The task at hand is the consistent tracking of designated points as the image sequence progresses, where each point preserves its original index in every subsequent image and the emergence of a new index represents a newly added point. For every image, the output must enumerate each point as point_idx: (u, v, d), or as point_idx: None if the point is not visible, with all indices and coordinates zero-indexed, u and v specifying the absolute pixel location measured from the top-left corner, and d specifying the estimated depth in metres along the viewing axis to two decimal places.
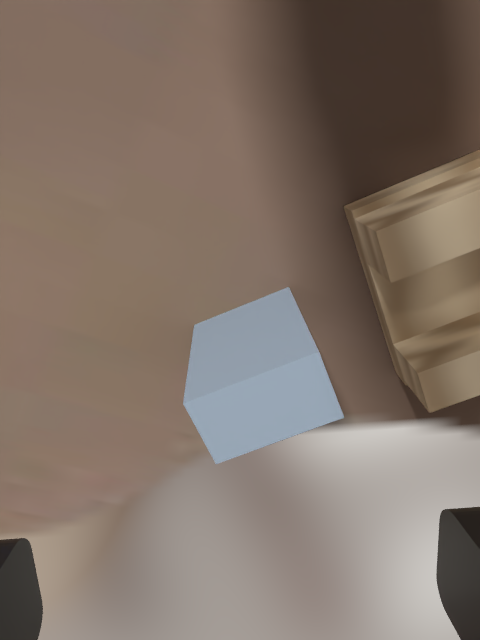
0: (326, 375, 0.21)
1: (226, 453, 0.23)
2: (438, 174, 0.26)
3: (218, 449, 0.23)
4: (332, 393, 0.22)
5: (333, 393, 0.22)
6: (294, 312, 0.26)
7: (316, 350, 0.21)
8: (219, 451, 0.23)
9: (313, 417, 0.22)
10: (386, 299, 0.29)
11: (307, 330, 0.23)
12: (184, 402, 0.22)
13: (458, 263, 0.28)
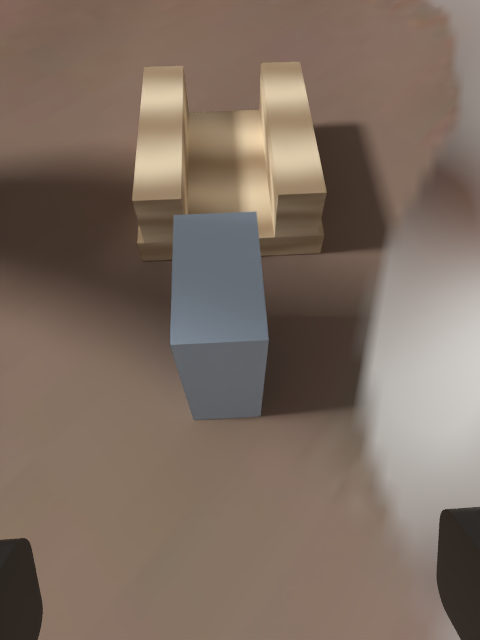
0: (202, 215, 0.22)
1: (257, 324, 0.18)
2: None
3: (248, 329, 0.18)
4: (224, 214, 0.22)
5: (224, 214, 0.22)
6: None
7: (174, 219, 0.22)
8: (251, 330, 0.18)
9: (245, 234, 0.21)
10: None
11: None
12: (170, 344, 0.18)
13: (217, 185, 0.34)
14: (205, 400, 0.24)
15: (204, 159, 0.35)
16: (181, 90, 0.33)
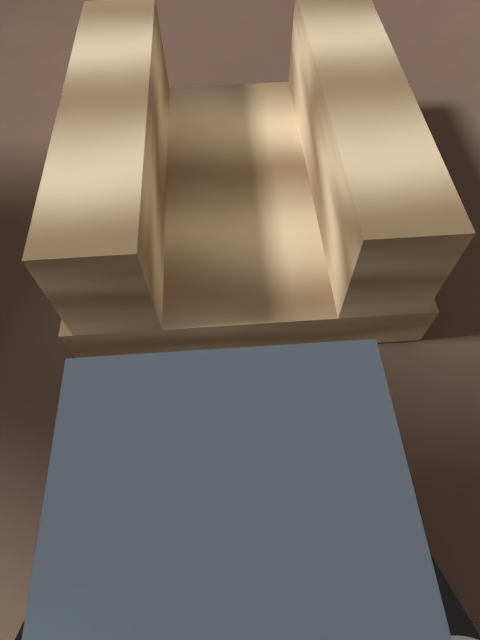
0: (172, 357, 0.06)
1: None
2: None
3: None
4: (255, 353, 0.06)
5: (258, 351, 0.06)
6: None
7: None
8: None
9: (347, 452, 0.05)
10: (242, 313, 0.15)
11: None
12: None
13: (221, 212, 0.18)
14: None
15: (195, 165, 0.19)
16: (149, 36, 0.17)
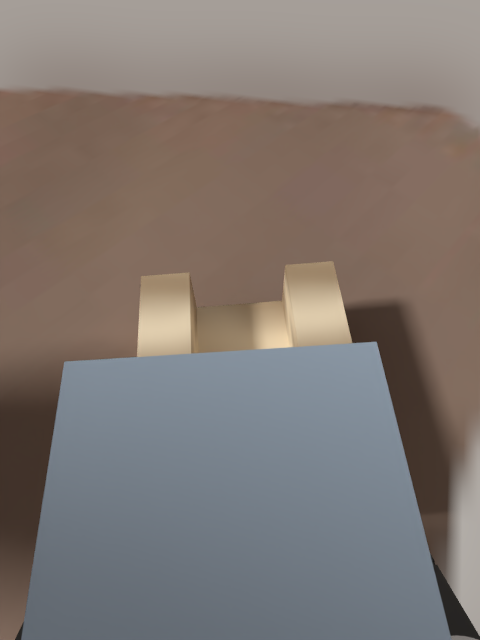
0: (172, 360, 0.06)
1: None
2: None
3: None
4: (255, 357, 0.06)
5: (258, 354, 0.06)
6: None
7: None
8: None
9: (348, 456, 0.05)
10: None
11: None
12: None
13: None
14: None
15: None
16: (188, 314, 0.26)
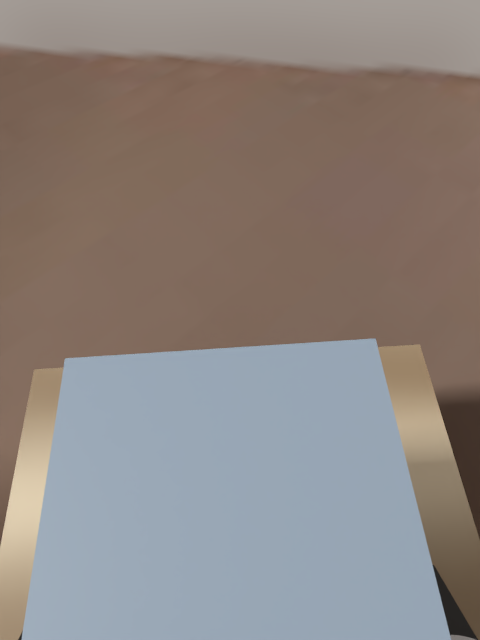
0: (172, 357, 0.06)
1: None
2: None
3: None
4: (254, 353, 0.06)
5: (257, 351, 0.06)
6: None
7: None
8: None
9: (347, 452, 0.05)
10: None
11: None
12: None
13: None
14: None
15: None
16: None
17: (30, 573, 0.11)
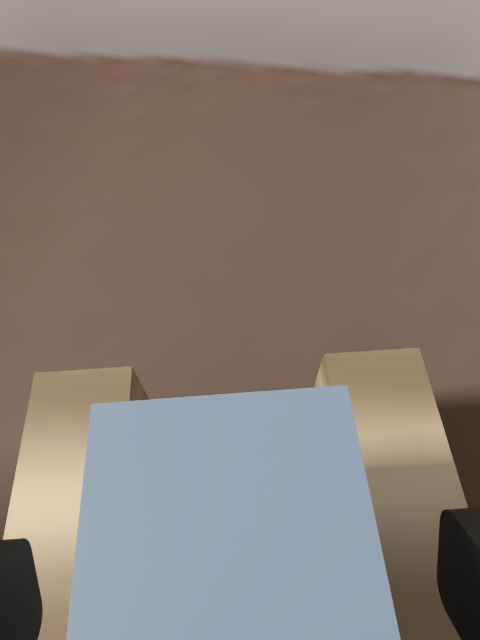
0: (179, 401, 0.07)
1: None
2: None
3: None
4: (247, 398, 0.07)
5: (249, 396, 0.07)
6: None
7: None
8: None
9: (321, 482, 0.06)
10: None
11: None
12: None
13: None
14: None
15: None
16: None
17: None
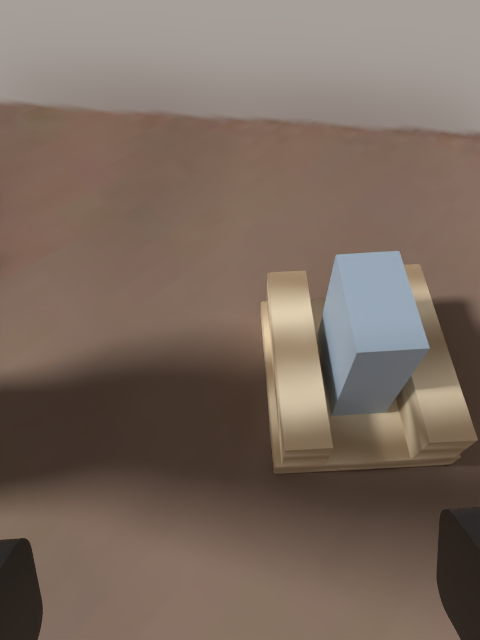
0: (357, 254, 0.28)
1: (418, 336, 0.25)
2: (268, 396, 0.34)
3: (412, 341, 0.25)
4: (374, 253, 0.28)
5: (375, 253, 0.28)
6: (325, 306, 0.33)
7: (335, 257, 0.28)
8: (415, 341, 0.25)
9: (394, 269, 0.27)
10: (362, 455, 0.31)
11: (330, 280, 0.30)
12: (356, 352, 0.25)
13: None
14: (352, 398, 0.30)
15: None
16: (309, 303, 0.34)
17: (285, 332, 0.32)
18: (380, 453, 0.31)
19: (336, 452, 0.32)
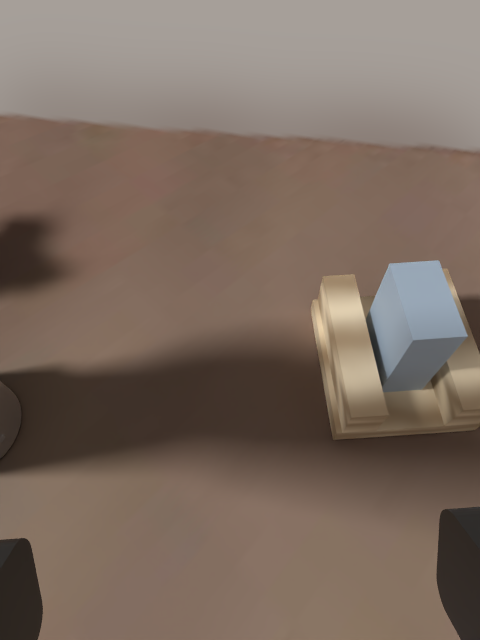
0: (406, 263, 0.36)
1: (459, 327, 0.33)
2: (326, 377, 0.42)
3: (454, 331, 0.33)
4: (419, 262, 0.36)
5: (420, 262, 0.36)
6: (374, 304, 0.40)
7: (389, 266, 0.36)
8: (456, 331, 0.33)
9: (436, 275, 0.35)
10: (406, 423, 0.39)
11: (381, 283, 0.38)
12: (412, 339, 0.32)
13: None
14: (399, 377, 0.38)
15: None
16: (359, 301, 0.41)
17: (342, 325, 0.40)
18: (420, 421, 0.39)
19: (385, 421, 0.39)
